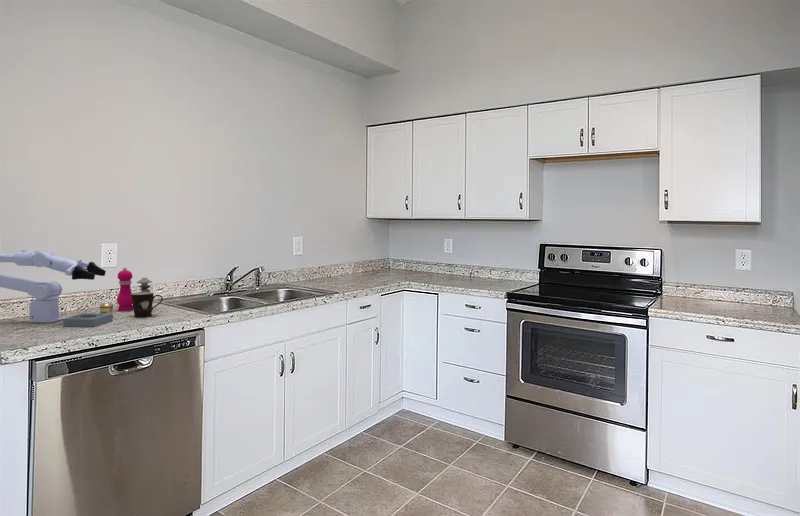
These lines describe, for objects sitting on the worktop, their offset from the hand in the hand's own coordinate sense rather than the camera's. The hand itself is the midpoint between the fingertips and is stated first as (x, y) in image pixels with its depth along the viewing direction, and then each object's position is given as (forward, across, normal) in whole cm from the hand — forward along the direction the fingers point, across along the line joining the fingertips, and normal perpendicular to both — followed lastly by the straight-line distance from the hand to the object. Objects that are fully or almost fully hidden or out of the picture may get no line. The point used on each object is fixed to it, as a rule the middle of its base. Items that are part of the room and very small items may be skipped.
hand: (99, 275), depth 198 cm
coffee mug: (+18, +10, +16) cm, 26 cm away
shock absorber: (+12, +23, +19) cm, 32 cm away
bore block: (+3, -7, +18) cm, 20 cm away
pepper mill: (+3, +24, +21) cm, 32 cm away
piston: (+4, +5, +19) cm, 20 cm away
